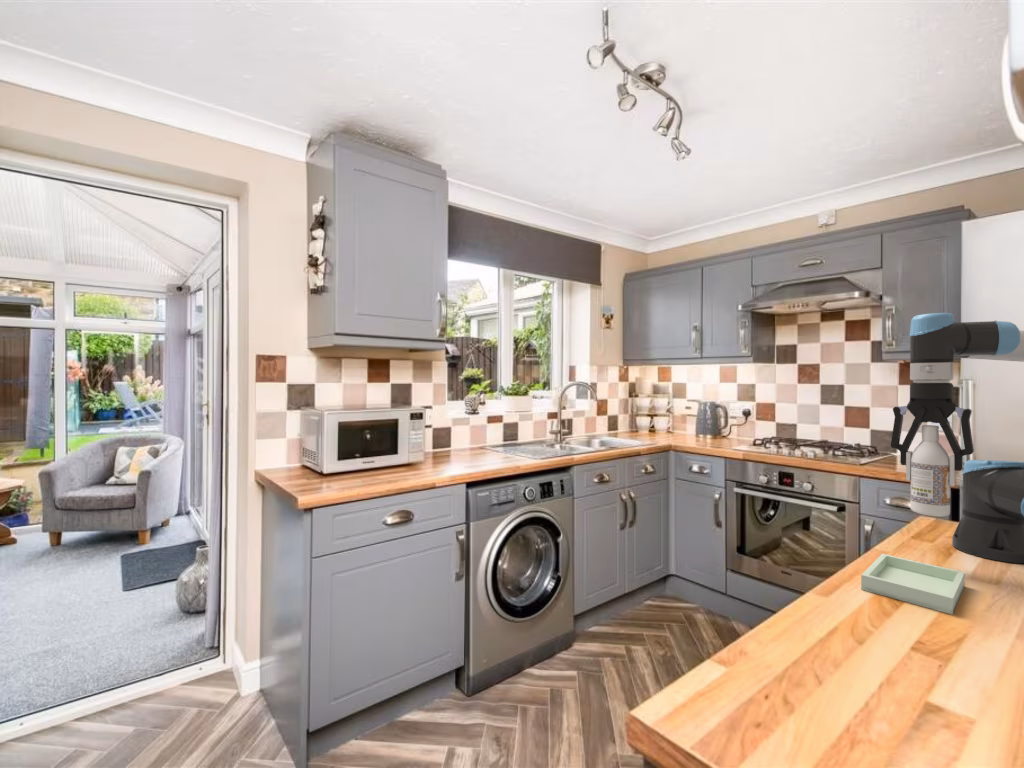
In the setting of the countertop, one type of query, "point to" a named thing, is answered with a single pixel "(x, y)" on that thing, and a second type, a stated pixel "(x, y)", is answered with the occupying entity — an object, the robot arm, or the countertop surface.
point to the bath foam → (930, 475)
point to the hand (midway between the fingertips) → (930, 481)
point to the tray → (914, 582)
